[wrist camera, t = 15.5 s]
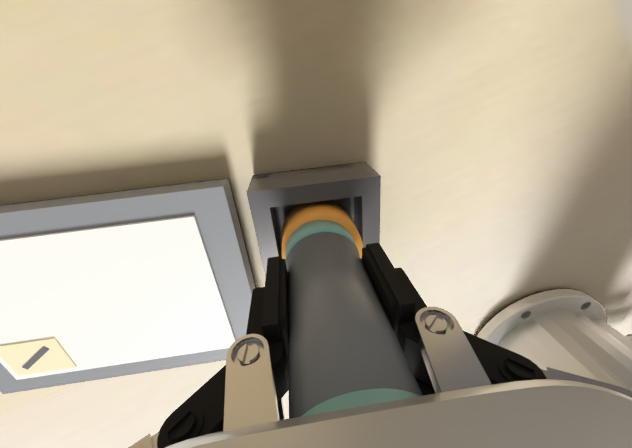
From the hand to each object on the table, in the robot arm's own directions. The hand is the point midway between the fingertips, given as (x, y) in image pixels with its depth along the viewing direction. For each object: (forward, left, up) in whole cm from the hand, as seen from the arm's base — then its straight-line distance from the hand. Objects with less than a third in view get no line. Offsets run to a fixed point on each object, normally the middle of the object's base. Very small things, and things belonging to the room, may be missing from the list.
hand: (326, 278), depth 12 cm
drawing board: (+15, +4, -6) cm, 17 cm away
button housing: (0, 0, -6) cm, 6 cm away
